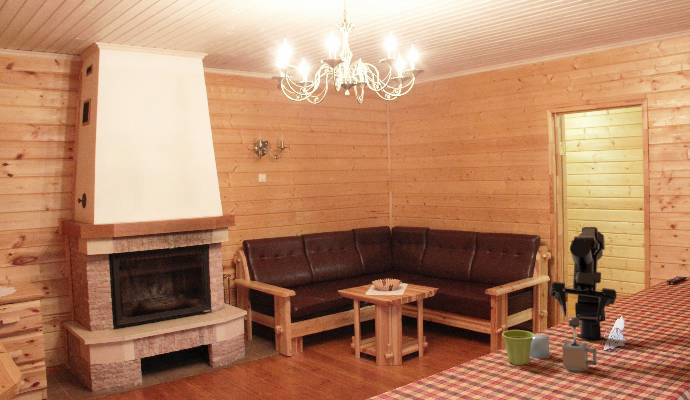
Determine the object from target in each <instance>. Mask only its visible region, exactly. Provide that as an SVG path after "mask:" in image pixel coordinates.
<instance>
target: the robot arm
mask: <svg viewBox="0 0 690 400" xmlns="http://www.w3.org/2000/svg"><path fill="white" fill-rule="evenodd" d="M605 242H606V241H605V235H604V234H603V233H601V232H600V231H599V230H598V227H596V226H583V227H582V228H581V233H580V234H579V235H576V236H574V238H573V240H571V243H570V246H569V251H570V253H571V259H572V261H573V278H572V279H573V280H572V281H573V282H572V287H569V286H566V283H565V282H560V281H553V282H551V285H550V291H549V296H550V297H554V300H557V301H558V303H559V305H560V307H561V311H562V313H563V316H564V317H567V300H566V297H567V296H566V295H567V294H568V295H577V301H576V302H575V304H574V305H575V306H574V309H575V310H574V312H575V317H576V318H580V326H579V327H580V333H579V334H577V333H576V337H578V338H580V339H583V340H586V341H596V340H603V339H605V336H602V330H601V323H603V322H605V321H606V309H605V307H609V306H610V305H614V304H615V301H616V300H617V291H616V289H614V288H606V287H602V289H601V291H598V290H597V286H598V285H597V284H600V283H602V282H601V281H602V272H601V271H600V272H599V271H598V262H599V260H600V259H601V258H602V257H603V256H604V255H603V253H604V251H605V249H606V244H605Z"/></svg>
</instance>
